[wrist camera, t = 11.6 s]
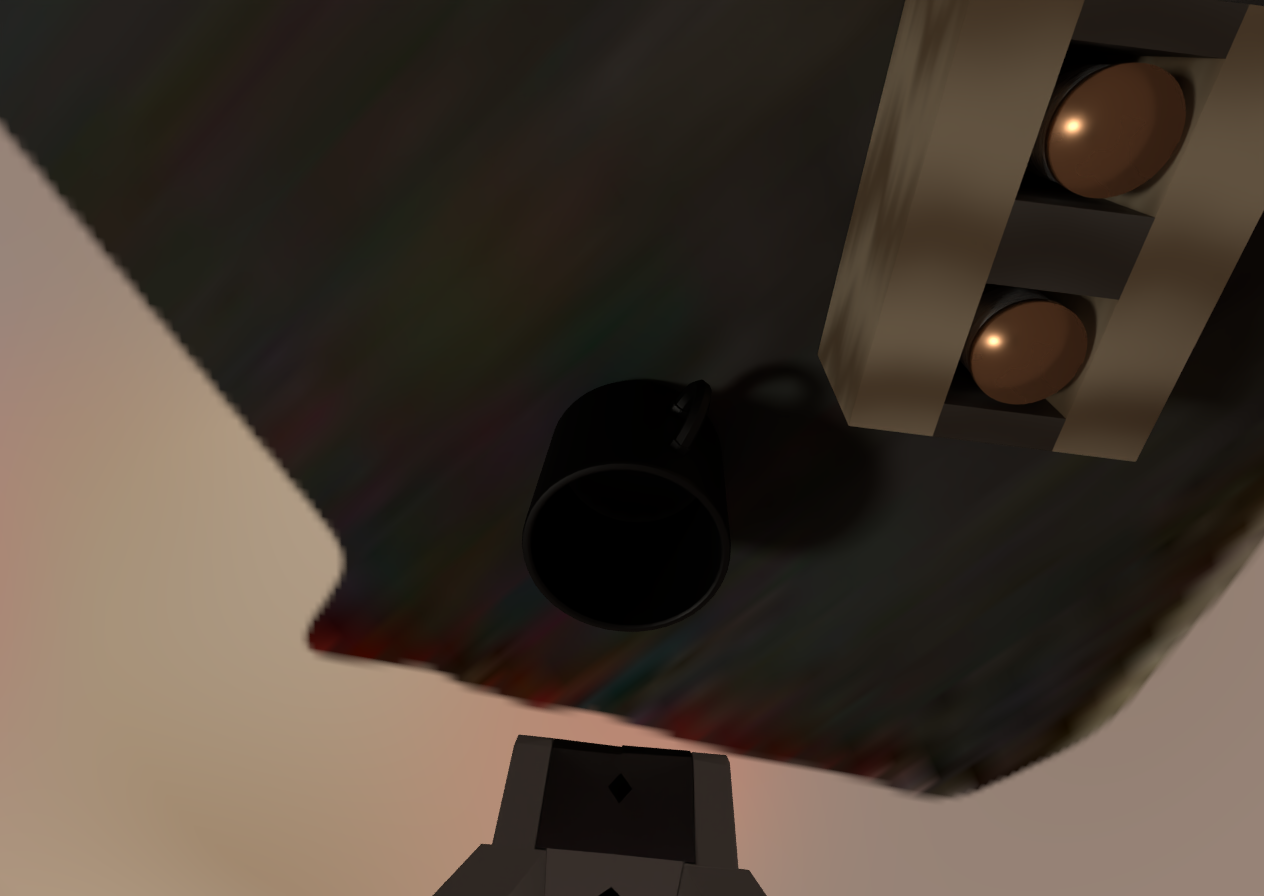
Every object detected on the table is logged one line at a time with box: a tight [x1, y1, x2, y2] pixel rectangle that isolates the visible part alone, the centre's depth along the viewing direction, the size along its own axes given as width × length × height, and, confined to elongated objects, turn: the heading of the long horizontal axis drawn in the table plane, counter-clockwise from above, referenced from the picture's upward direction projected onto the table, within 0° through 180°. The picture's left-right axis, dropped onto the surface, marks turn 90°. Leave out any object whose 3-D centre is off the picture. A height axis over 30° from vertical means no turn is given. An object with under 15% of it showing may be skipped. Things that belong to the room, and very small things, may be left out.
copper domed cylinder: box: [1025, 62, 1186, 198], centre depth 28 cm, size 4×4×8 cm
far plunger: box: [959, 283, 1087, 404], centre depth 32 cm, size 4×4×8 cm
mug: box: [522, 380, 731, 632], centre depth 37 cm, size 9×12×9 cm
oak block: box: [818, 0, 1264, 462], centre depth 30 cm, size 16×12×8 cm
